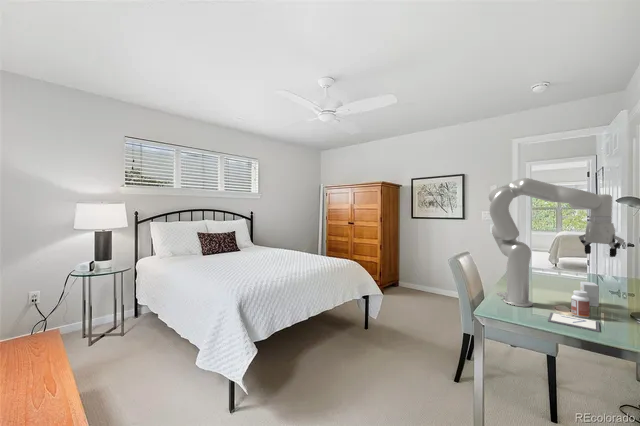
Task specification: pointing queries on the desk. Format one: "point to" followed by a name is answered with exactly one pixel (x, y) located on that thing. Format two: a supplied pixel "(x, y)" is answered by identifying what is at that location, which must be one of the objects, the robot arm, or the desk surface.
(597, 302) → the small box
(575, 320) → the writing mat
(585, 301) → the pill bottle
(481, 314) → the desk surface
